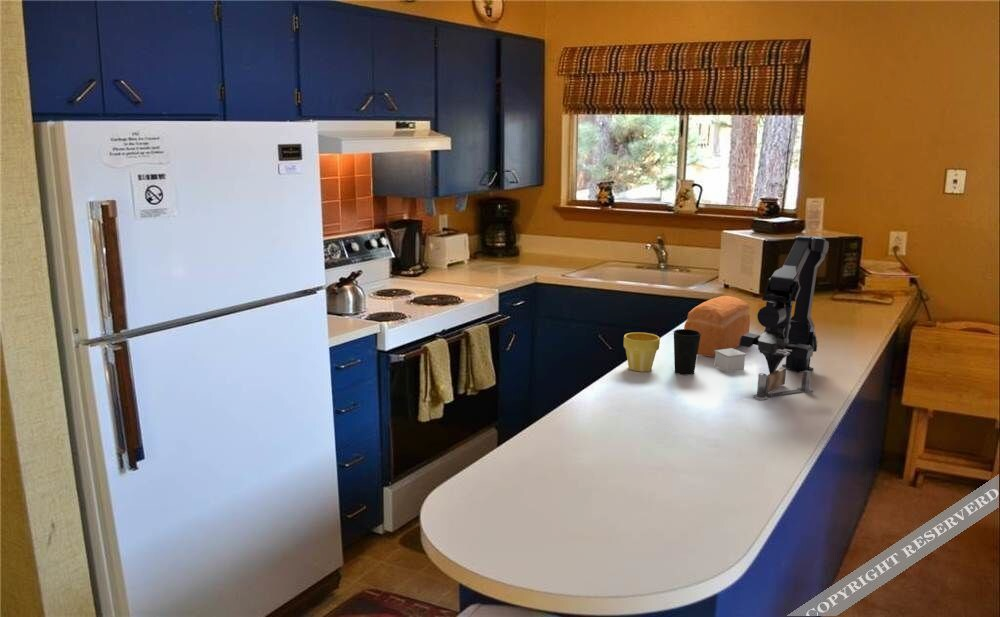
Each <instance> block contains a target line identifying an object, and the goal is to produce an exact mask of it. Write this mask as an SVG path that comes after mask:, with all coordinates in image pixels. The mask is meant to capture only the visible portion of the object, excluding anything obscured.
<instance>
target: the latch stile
mask: <svg viewBox="0 0 1000 617" xmlns="http://www.w3.org/2000/svg"><path fill="white" fill-rule="evenodd" d="M811 373H812V371H811V370H809V371H808V370H805V371H802V378H801V385H800V386H801V387H796V389H798V390H801V391H802V392H801V393H811V392H814V389H812V388H810V381H811Z"/></svg>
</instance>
